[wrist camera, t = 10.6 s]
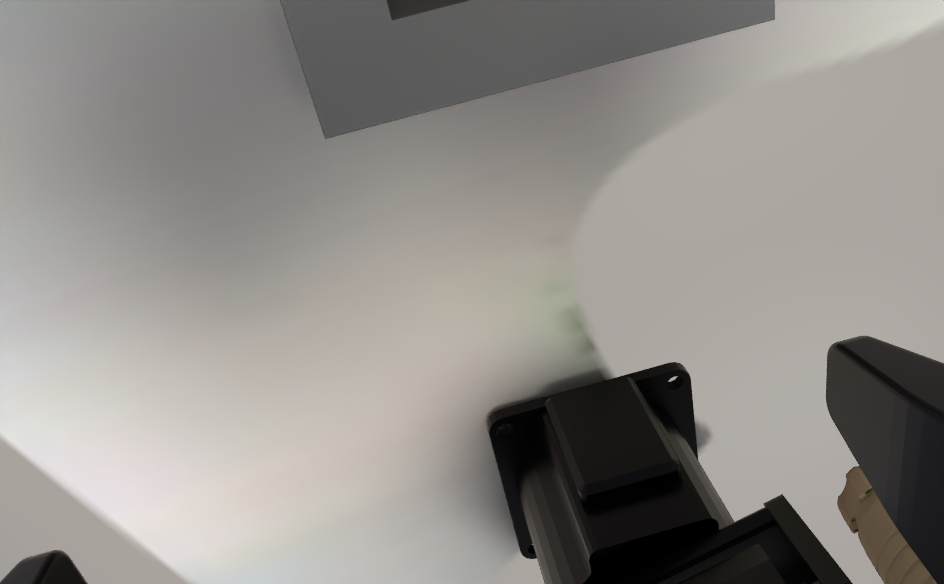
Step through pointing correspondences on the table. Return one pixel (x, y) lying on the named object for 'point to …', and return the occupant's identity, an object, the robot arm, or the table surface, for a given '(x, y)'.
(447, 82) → the block
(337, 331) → the table surface
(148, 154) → the table surface
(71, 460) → the table surface
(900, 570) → the handle
